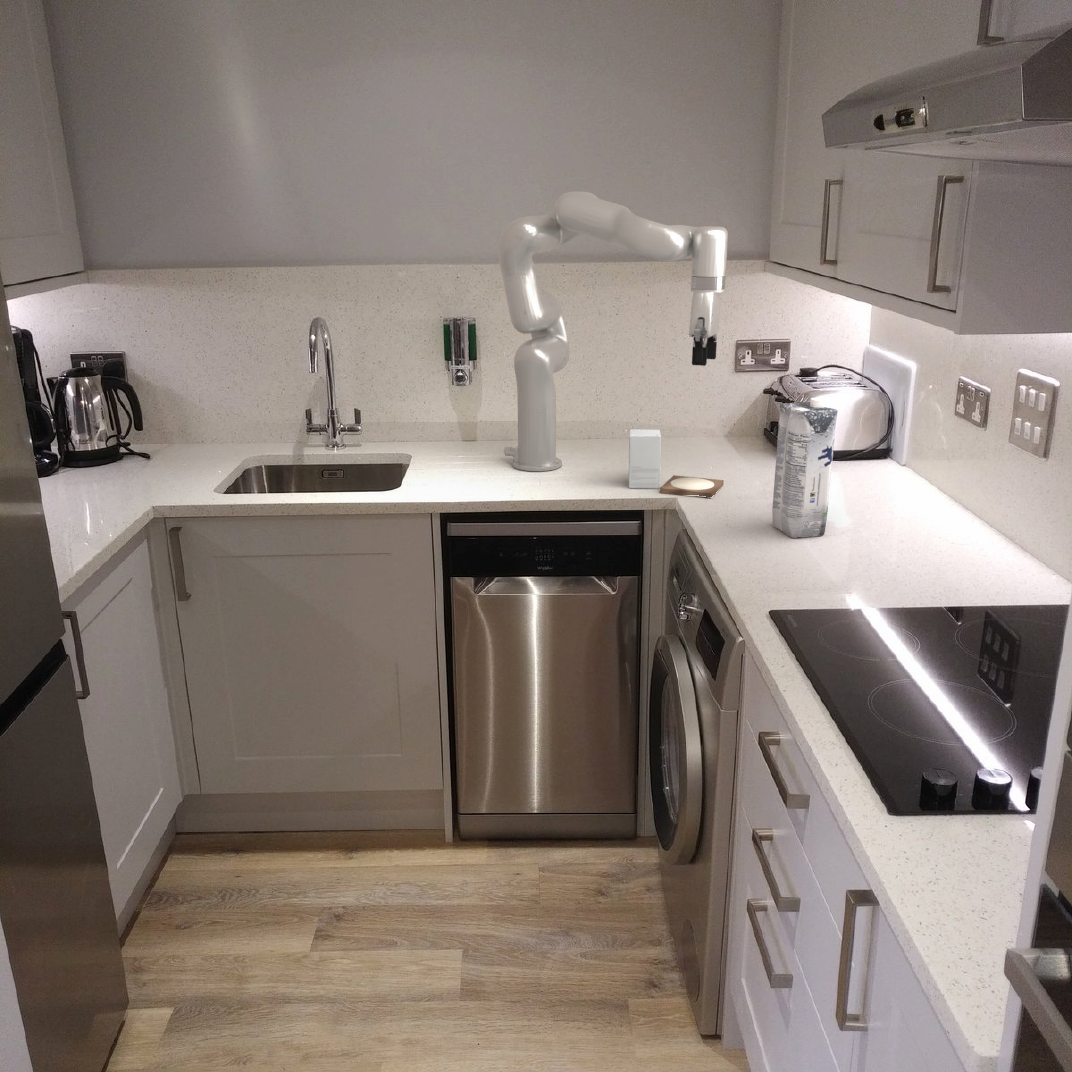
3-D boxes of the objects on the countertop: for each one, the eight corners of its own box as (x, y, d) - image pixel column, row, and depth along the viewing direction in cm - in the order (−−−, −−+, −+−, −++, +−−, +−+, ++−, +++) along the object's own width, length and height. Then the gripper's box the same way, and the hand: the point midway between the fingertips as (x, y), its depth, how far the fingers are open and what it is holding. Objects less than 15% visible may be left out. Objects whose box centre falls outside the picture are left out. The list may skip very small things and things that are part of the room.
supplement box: (659, 481, 242) (661, 429, 238) (659, 489, 235) (661, 436, 231) (628, 480, 242) (629, 428, 238) (627, 488, 235) (629, 435, 231)
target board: (659, 493, 232) (660, 487, 231) (673, 480, 242) (673, 474, 242) (711, 498, 227) (712, 492, 227) (723, 485, 238) (723, 479, 238)
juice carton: (791, 541, 199) (802, 405, 191) (765, 525, 209) (775, 395, 200) (831, 537, 202) (844, 402, 193) (804, 521, 211) (815, 393, 203)
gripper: (700, 281, 233) (696, 355, 239) (681, 287, 218) (678, 366, 224) (732, 282, 231) (728, 357, 236) (716, 288, 216) (712, 368, 221)
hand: (704, 362), depth 230 cm, fingers open, 9 cm apart
